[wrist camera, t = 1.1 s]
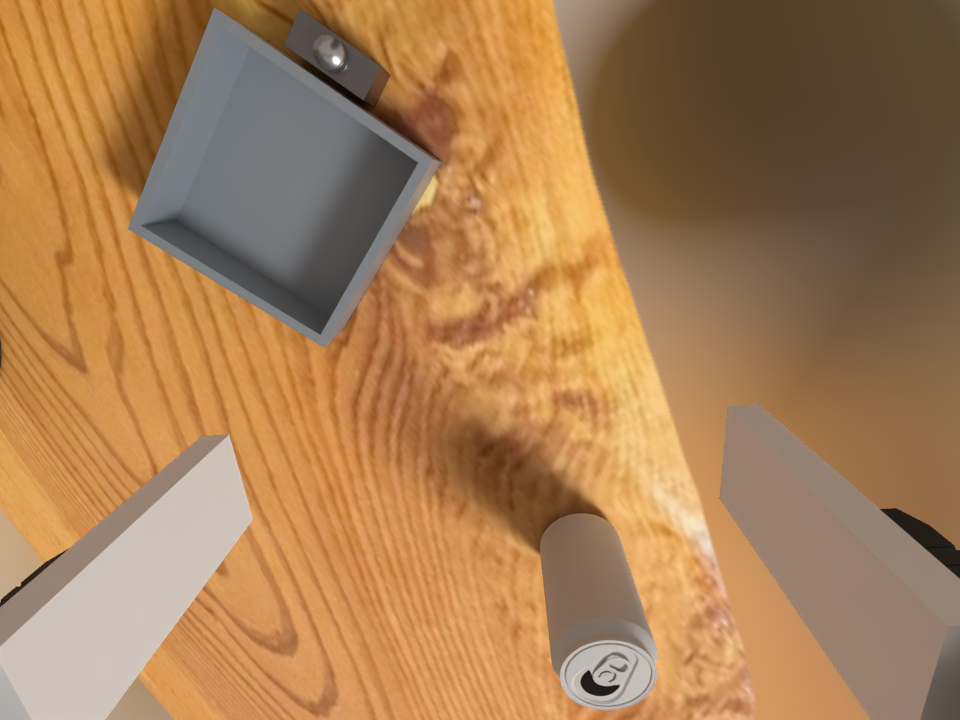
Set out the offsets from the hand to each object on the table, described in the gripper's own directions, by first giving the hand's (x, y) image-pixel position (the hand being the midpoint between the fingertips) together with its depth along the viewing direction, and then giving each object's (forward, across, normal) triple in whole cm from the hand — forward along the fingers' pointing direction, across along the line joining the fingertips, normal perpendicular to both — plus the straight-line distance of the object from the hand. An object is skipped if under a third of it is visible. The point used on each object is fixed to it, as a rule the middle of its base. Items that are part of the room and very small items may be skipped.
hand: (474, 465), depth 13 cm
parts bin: (+22, -12, +7) cm, 26 cm away
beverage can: (+22, +6, -21) cm, 31 cm away
